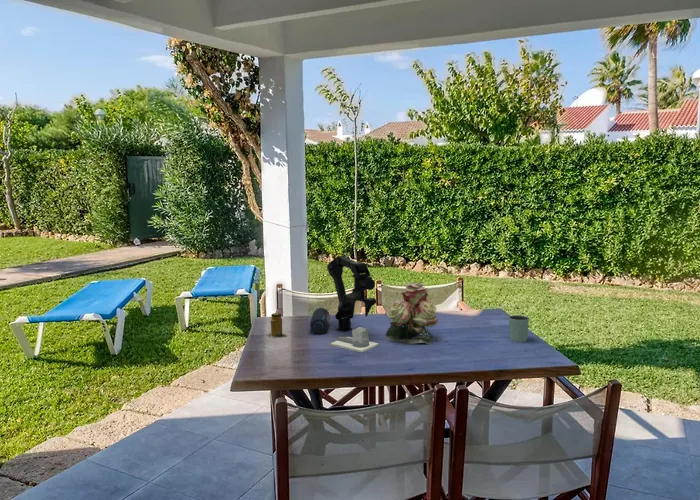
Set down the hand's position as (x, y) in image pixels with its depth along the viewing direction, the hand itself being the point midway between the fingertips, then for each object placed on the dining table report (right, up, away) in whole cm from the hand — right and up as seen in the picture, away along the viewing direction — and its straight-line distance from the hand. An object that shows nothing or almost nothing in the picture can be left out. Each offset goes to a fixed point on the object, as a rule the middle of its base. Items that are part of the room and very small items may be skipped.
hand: (359, 314), depth 288 cm
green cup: (+83, -12, -8) cm, 84 cm away
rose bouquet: (+29, -12, -2) cm, 31 cm away
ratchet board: (-3, -14, -14) cm, 20 cm away
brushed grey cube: (0, -11, -17) cm, 20 cm away
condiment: (-44, -12, +5) cm, 46 cm away
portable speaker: (-22, -10, +16) cm, 29 cm away
